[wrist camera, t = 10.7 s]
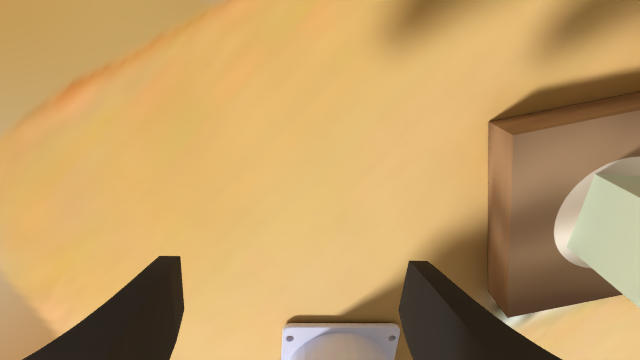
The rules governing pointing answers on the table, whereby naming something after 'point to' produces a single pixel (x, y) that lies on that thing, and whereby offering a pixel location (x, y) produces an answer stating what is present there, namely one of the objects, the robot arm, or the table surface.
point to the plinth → (552, 198)
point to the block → (611, 232)
